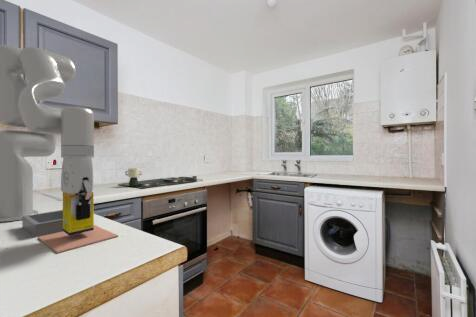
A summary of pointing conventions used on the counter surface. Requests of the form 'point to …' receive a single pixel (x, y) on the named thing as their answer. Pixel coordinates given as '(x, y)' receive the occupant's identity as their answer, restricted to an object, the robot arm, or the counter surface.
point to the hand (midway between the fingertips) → (78, 216)
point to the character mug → (133, 176)
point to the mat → (75, 239)
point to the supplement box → (69, 216)
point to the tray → (43, 223)
